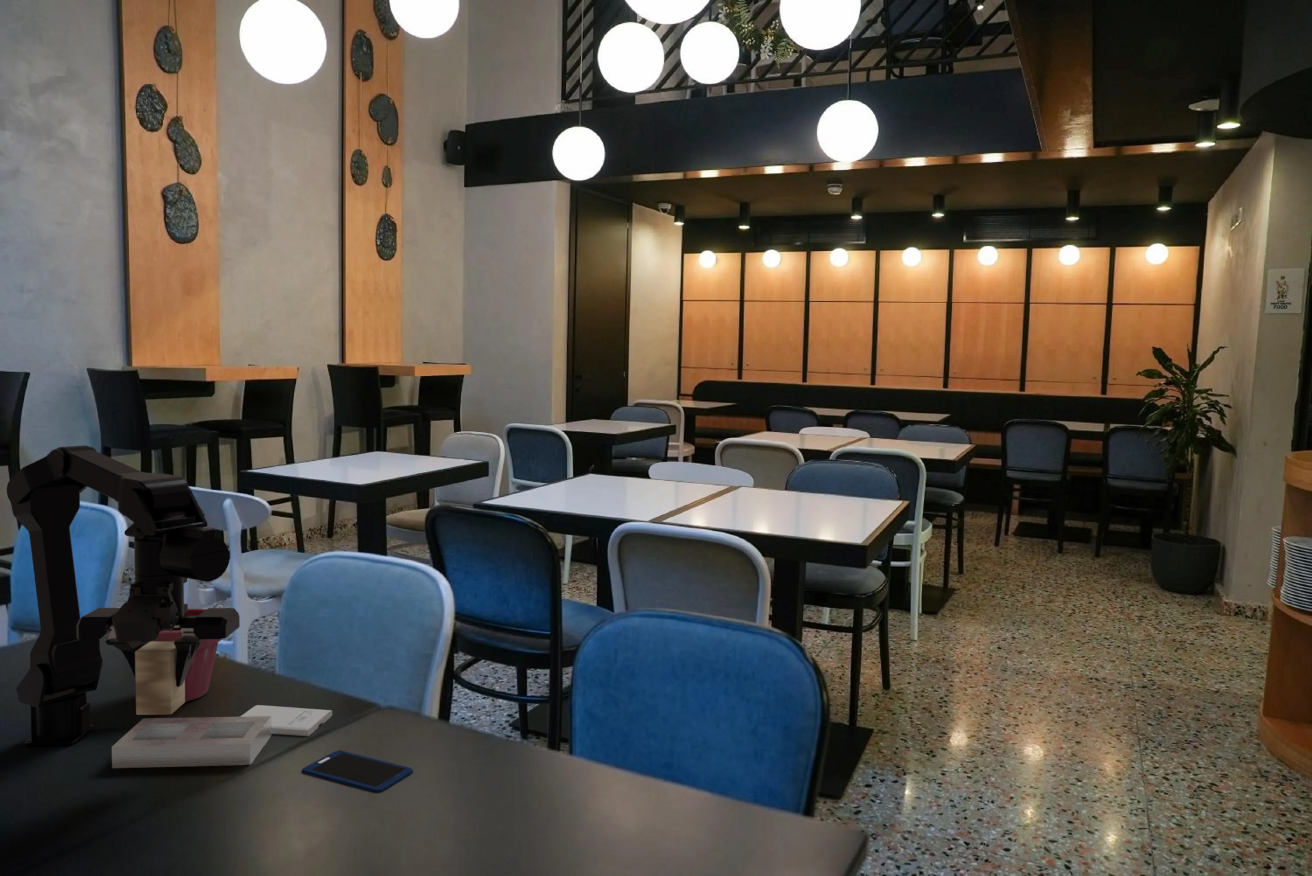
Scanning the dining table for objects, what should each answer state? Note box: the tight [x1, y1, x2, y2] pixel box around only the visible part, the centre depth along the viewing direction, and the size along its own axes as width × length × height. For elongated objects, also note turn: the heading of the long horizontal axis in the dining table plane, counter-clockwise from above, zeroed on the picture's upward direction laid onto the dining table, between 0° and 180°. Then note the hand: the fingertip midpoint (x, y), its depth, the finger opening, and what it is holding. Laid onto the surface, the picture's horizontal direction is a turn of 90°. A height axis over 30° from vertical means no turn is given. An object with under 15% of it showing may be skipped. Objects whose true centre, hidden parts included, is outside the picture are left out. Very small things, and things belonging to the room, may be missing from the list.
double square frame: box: [111, 716, 272, 769], centre depth 131 cm, size 18×10×3 cm, turn 97°
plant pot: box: [148, 608, 223, 702], centre depth 152 cm, size 14×14×13 cm
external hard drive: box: [239, 704, 333, 737], centre depth 142 cm, size 2×8×12 cm
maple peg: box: [135, 642, 186, 716], centre depth 123 cm, size 4×4×8 cm
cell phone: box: [301, 750, 414, 793], centre depth 126 cm, size 7×14×1 cm, turn 66°
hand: (161, 685), depth 123 cm, fingers closed on maple peg, 4 cm apart
